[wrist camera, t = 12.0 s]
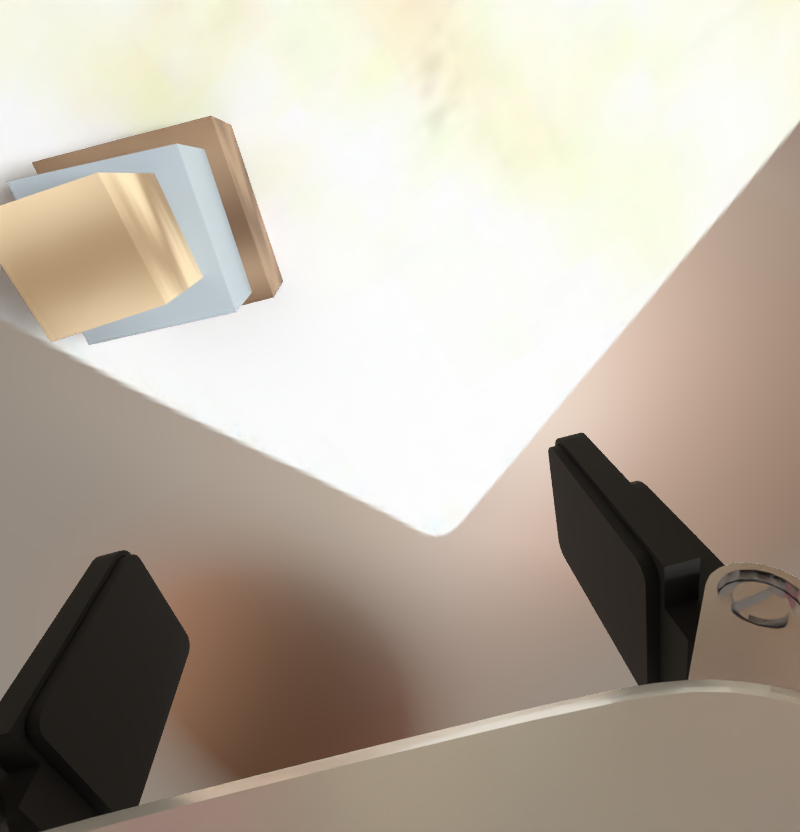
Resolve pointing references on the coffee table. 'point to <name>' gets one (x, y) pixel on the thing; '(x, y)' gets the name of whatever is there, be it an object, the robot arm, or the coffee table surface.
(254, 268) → the walnut base block
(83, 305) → the oak block
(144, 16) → the coffee table surface
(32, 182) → the slate cube
